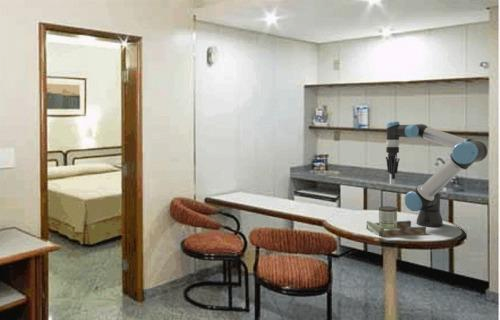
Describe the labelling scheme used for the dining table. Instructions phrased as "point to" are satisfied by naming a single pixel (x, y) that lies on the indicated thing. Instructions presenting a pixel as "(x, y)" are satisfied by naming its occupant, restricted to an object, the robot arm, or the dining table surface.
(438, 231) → the dining table surface
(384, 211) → the coffee can
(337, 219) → the dining table surface
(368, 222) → the shallow brown tray
